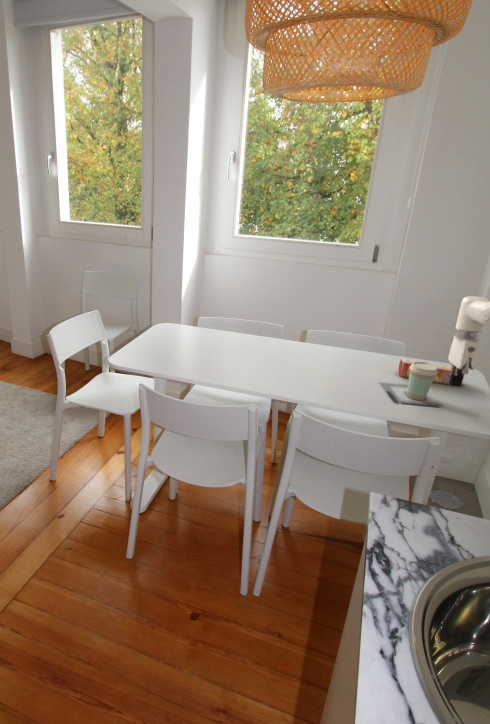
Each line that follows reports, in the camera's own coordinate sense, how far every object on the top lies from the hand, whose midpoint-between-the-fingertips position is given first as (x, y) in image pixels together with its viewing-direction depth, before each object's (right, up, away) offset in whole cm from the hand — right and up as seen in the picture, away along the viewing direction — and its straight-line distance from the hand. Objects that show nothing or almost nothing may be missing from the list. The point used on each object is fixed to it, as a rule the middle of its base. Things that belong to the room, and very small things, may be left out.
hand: (454, 385), depth 162 cm
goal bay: (-13, -4, +5) cm, 15 cm away
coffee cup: (-11, -4, +4) cm, 13 cm away
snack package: (+2, +1, +18) cm, 18 cm away
